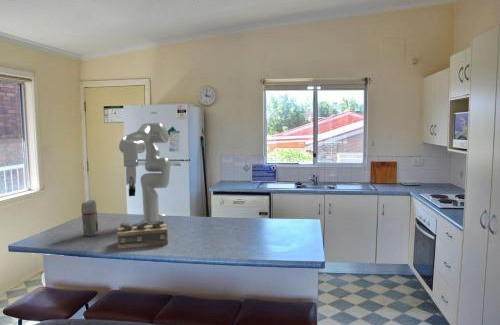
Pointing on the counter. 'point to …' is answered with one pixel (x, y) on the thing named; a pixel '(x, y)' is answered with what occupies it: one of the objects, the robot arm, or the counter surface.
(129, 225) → the rocker left
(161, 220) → the rocker right
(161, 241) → the switch unit
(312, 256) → the counter surface
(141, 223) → the rocker middle
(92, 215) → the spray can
